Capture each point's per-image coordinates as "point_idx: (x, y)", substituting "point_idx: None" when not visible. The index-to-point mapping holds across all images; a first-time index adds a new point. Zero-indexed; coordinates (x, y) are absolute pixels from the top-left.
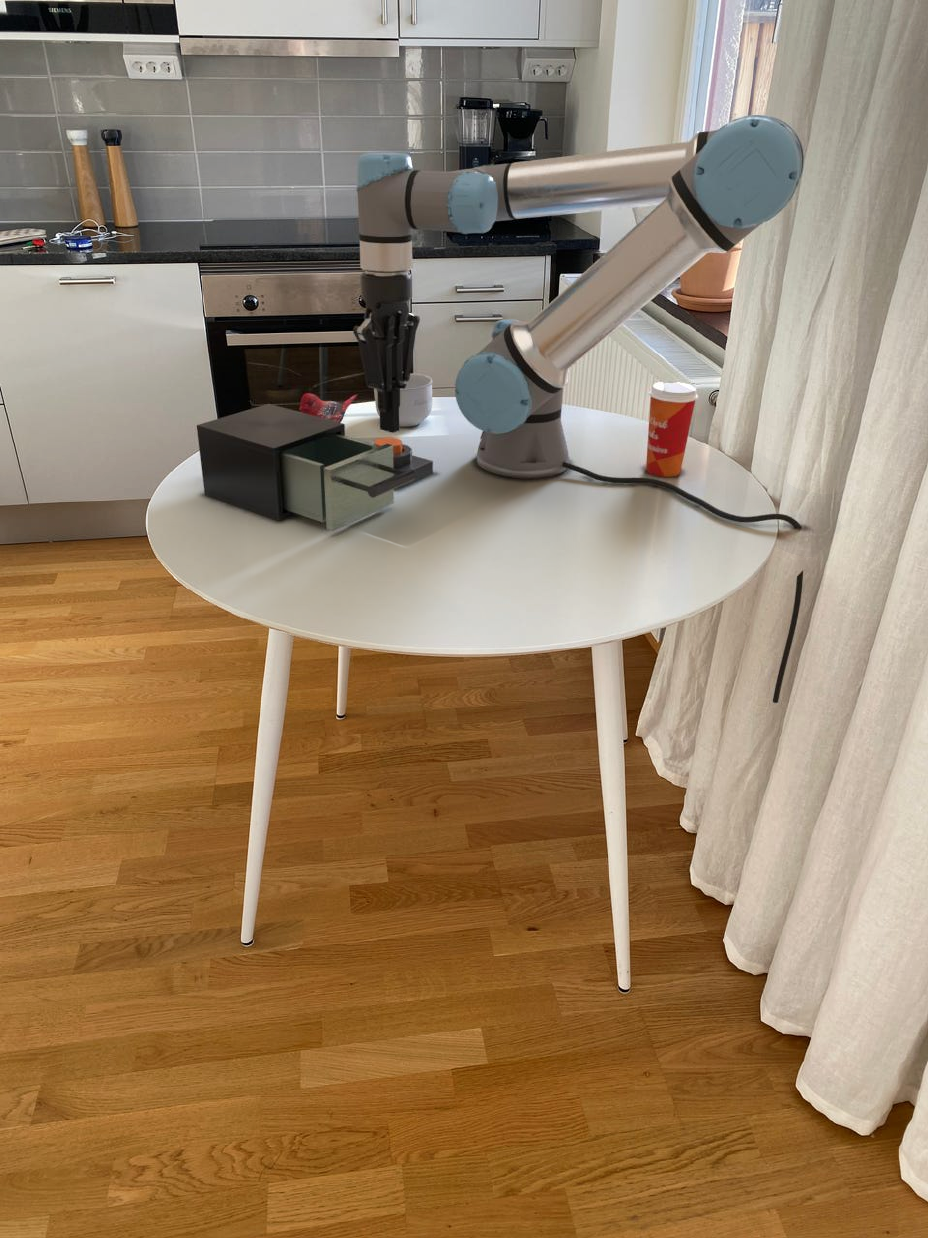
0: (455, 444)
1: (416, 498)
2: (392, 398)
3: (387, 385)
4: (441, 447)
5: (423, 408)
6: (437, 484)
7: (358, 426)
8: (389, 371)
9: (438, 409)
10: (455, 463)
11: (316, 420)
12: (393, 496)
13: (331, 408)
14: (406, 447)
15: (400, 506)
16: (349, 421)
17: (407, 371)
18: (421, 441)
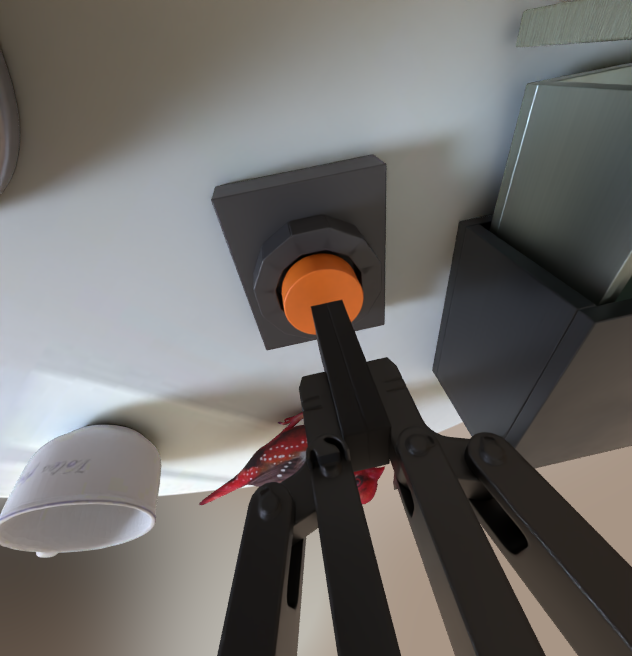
0: (37, 320)
1: (390, 42)
2: (378, 396)
3: (438, 455)
4: (89, 321)
5: (64, 452)
6: (254, 99)
7: (202, 446)
8: (456, 545)
9: (3, 465)
10: (101, 212)
11: (582, 379)
12: (544, 6)
13: (295, 470)
14: (267, 279)
15: (474, 22)
16: (203, 461)
17: (269, 546)
18: (123, 366)
